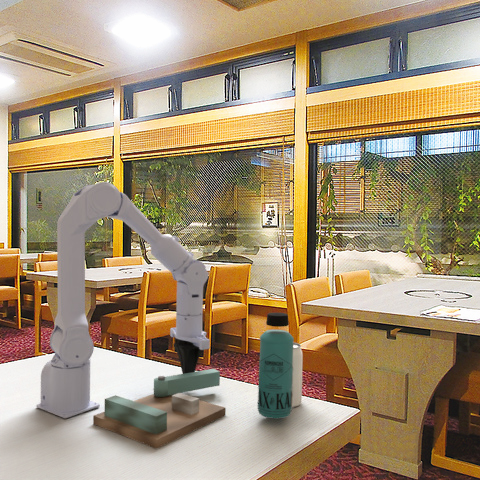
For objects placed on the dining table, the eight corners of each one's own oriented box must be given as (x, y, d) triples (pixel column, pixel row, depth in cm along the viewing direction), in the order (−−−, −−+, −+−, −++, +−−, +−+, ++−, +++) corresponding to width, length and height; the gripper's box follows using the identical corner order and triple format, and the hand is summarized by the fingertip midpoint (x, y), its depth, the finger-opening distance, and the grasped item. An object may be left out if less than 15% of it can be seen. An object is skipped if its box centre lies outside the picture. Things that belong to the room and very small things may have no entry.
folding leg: (157, 397, 98) (157, 380, 98) (151, 393, 100) (151, 376, 100) (220, 385, 106) (220, 369, 106) (212, 381, 109) (213, 366, 108)
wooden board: (93, 423, 89) (93, 399, 89) (164, 397, 104) (164, 375, 104) (156, 448, 80) (157, 421, 80) (225, 415, 94) (225, 391, 94)
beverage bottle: (255, 413, 96) (257, 310, 95) (289, 413, 96) (291, 310, 96) (259, 427, 89) (261, 316, 88) (295, 426, 90) (298, 316, 89)
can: (300, 410, 98) (301, 349, 97) (267, 407, 99) (268, 347, 99) (302, 399, 104) (304, 342, 104) (272, 396, 105) (273, 340, 105)
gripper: (222, 317, 105) (221, 381, 106) (189, 307, 117) (188, 364, 118) (193, 320, 101) (192, 386, 102) (162, 309, 113) (161, 368, 114)
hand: (188, 375), depth 109 cm, fingers closed
